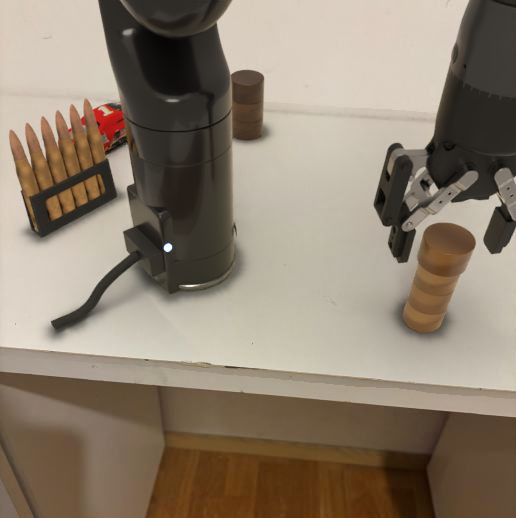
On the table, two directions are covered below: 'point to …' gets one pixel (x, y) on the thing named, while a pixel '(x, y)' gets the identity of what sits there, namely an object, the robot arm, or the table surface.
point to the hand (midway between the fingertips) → (445, 252)
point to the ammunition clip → (63, 171)
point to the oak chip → (445, 249)
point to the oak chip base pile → (428, 300)
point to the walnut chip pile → (247, 104)
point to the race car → (108, 125)
